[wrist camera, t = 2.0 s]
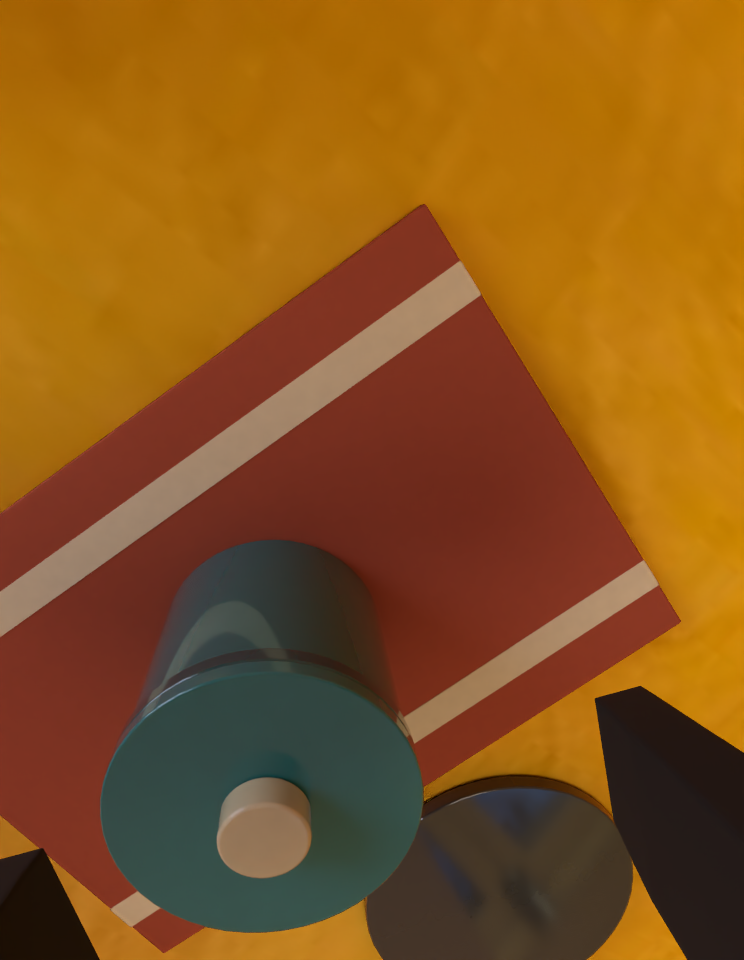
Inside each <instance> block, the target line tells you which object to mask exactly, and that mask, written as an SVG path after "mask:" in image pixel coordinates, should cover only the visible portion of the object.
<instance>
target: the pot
mask: <svg viewBox="0 0 744 960" xmlns="http://www.w3.org/2000/svg"><path fill="white" fill-rule="evenodd" d="M423 792H424V787H423V780H422V774H421V769H420V765H419V761H418V757H417V752H416V748H415V744H414V741H413V738H412V735H411V732H410V729H409V727H408V725H407V723H406V721H405V719H404V717H403V715H402V712H401V708H400V704H399V700H398V695H397V691H396V687H395V683H394V678H393V674H392V670H391V666H390V662H389V657H388V653H387V649H386V645H385V640H384V636H383V632H382V628H381V623H380V619H379V615H378V611H377V608H376V605H375V602H374V600H373V598H372V596H371V594H370V592H369V590H368V588H367V587H366V585H365V584H364V582H363V581H362V579H361V578H360V577H359V576H358V575H357V574H356V573H355V572H354V571H353V570H352V569H351V568H350V567H349V566H348V565H346V564H345V563H344V562H343V561H341V560H340V559H338V558H337V557H335V556H333V555H332V554H330V553H328V552H326V551H324V550H322V549H319V548H317V547H314V546H311V545H308V544H304V543H299V542H294V541H287V540H260V541H254V542H249V543H244V544H241V545H238V546H234V547H231V548H229V549H227V550H224V551H222V552H220V553H218V554H216V555H214V556H213V557H211V558H210V559H208V560H206V561H205V562H204V563H202V564H201V565H200V566H199V567H197V568H196V569H195V570H194V571H193V572H192V573H191V574H190V575H189V576H188V577H187V578H186V579H185V580H184V582H183V583H182V585H181V586H180V587H179V589H178V590H177V592H176V594H175V596H174V598H173V600H172V602H171V604H170V607H169V610H168V613H167V615H166V618H165V621H164V624H163V627H162V630H161V633H160V636H159V639H158V642H157V644H156V647H155V650H154V653H153V656H152V659H151V662H150V665H149V668H148V671H147V673H146V676H145V679H144V682H143V685H142V688H141V691H140V694H139V697H138V700H137V702H136V705H135V708H134V711H133V714H132V715H131V716H130V718H129V719H128V720H127V722H126V724H125V726H124V728H123V730H122V731H121V733H120V735H119V737H118V740H117V743H116V746H115V748H114V751H113V754H112V757H111V760H110V762H109V765H108V768H107V771H106V774H105V777H104V780H103V784H102V790H101V796H100V820H101V826H102V832H103V836H104V839H105V842H106V845H107V848H108V851H109V853H110V855H111V857H112V859H113V860H114V862H115V864H116V866H117V868H118V869H119V870H120V872H121V873H122V874H123V876H124V877H125V878H126V880H127V881H128V882H129V883H130V884H131V885H132V886H133V887H134V888H135V889H136V890H137V891H138V892H139V893H140V894H141V895H143V896H144V897H145V898H147V899H148V900H149V901H151V902H152V903H153V904H154V905H156V906H158V907H160V908H161V909H163V910H165V911H166V912H168V913H170V914H172V915H174V916H176V917H179V918H181V919H183V920H186V921H188V922H191V923H194V924H198V925H201V926H204V927H208V928H213V929H218V930H223V931H232V932H243V933H266V932H275V931H284V930H289V929H294V928H299V927H304V926H307V925H310V924H313V923H317V922H320V921H323V920H325V919H328V918H330V917H332V916H335V915H337V914H339V913H341V912H343V911H345V910H347V909H349V908H350V907H352V906H354V905H356V904H357V903H359V902H360V901H362V900H363V899H364V898H366V897H367V896H369V895H370V894H372V893H373V892H374V891H375V890H376V889H377V888H378V887H380V886H381V885H382V884H383V883H384V882H385V881H386V880H387V879H388V878H389V877H390V876H391V874H392V873H393V872H394V871H395V870H396V869H397V868H398V866H399V865H400V863H401V862H402V860H403V859H404V857H405V856H406V854H407V853H408V851H409V849H410V847H411V845H412V843H413V841H414V839H415V836H416V833H417V830H418V827H419V824H420V821H421V815H422V809H423Z"/></svg>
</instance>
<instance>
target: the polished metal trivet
mask: <svg viewBox="0 0 744 960" xmlns="http://www.w3.org/2000/svg"><path fill="white" fill-rule="evenodd" d="M632 883H633V863H632V859H631V857H630V854H629V852H628V850H627V848H626V846H625V844H624V842H623V840H622V837H621V835H620V833H619V831H618V829H617V827H616V825H615V822H614V819H613V817H612V816H611V815H610V814H609V813H608V811H607V810H606V809H605V808H604V807H603V806H602V805H601V804H599V803H598V802H597V801H596V800H595V799H593V798H592V797H591V796H589V795H587V794H586V793H584V792H582V791H580V790H579V789H577V788H574V787H572V786H569V785H567V784H565V783H562V782H558V781H554V780H550V779H546V778H539V777H531V776H506V777H495V778H490V779H485V780H480V781H475V782H472V783H469V784H466V785H462V786H459V787H457V788H454V789H452V790H450V791H447V792H445V793H443V794H441V795H439V796H437V797H435V798H434V799H432V800H430V801H428V802H427V803H425V804H424V805H423V809H422V815H421V821H420V824H419V827H418V830H417V833H416V836H415V839H414V841H413V843H412V845H411V847H410V849H409V851H408V853H407V854H406V856H405V857H404V859H403V860H402V862H401V863H400V865H399V866H398V868H397V869H396V870H395V871H394V872H393V873H392V874H391V876H390V877H389V878H388V879H387V880H386V881H385V882H384V883H383V884H382V885H381V886H380V887H378V888H377V889H376V890H375V891H374V892H373V893H372V894H370V895H369V896H367V897H366V898H365V913H366V920H367V925H368V930H369V934H370V936H371V939H372V942H373V944H374V946H375V948H376V949H377V951H378V953H379V954H380V956H381V957H382V959H383V960H587V959H588V958H589V957H590V956H592V955H593V954H594V953H595V952H596V951H597V950H598V949H599V948H600V947H601V946H602V945H603V944H604V943H605V942H606V940H607V939H608V938H609V937H610V935H611V934H612V933H613V931H614V930H615V928H616V927H617V925H618V923H619V922H620V920H621V919H622V916H623V914H624V912H625V910H626V907H627V905H628V902H629V898H630V895H631V891H632Z"/></svg>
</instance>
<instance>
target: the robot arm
mask: <svg viewBox="0 0 744 960" xmlns="http://www.w3.org/2000/svg"><path fill="white" fill-rule="evenodd" d="M595 703H596V709H597V716H598V722H599V729H600V735H601V742H602V748H603V755H604V761H605V768H606V774H607V781H608V787H609V793H610V800H611V806H612V813H613V819H614V822H615V825H616V827H617V829H618V831H619V833H620V835H621V837H622V840H623V842H624V844H625V846H626V848H627V850H628V852H629V854H630V857H631V859H632V861H633V863H634V865H635V867H636V869H637V871H638V873H639V875H640V877H641V879H642V881H643V883H644V886H645V888H646V890H647V892H648V894H649V896H650V898H651V900H652V902H653V903H654V905H655V907H656V908H657V910H658V912H659V913H660V915H661V917H662V918H663V920H664V922H665V923H666V925H667V927H668V928H669V930H670V932H671V933H672V935H673V937H674V938H675V940H676V942H677V943H678V945H679V947H680V948H681V950H682V951H683V953H684V955H685V956H686V958H687V960H744V753H743V752H742V751H740V750H739V749H737V748H735V747H734V746H732V745H731V744H729V743H728V742H726V741H725V740H723V739H721V738H720V737H718V736H717V735H715V734H714V733H712V732H711V731H709V730H708V729H706V728H704V727H703V726H701V725H700V724H698V723H697V722H695V721H694V720H692V719H691V718H689V717H688V716H686V715H685V714H683V713H682V712H680V711H679V710H677V709H676V708H674V707H672V706H671V705H669V704H668V703H666V702H665V701H663V700H662V699H660V698H659V697H657V696H656V695H654V694H653V693H651V692H649V691H648V690H646V689H645V688H643V687H641V686H638V687H635V688H631V689H627V690H624V691H620V692H616V693H613V694H609V695H605V696H601V697H598V698H595ZM0 960H100V959H99V957H98V955H97V953H96V951H95V949H94V947H93V945H92V943H91V941H90V940H89V938H88V936H87V934H86V932H85V930H84V928H83V926H82V924H81V922H80V920H79V918H78V916H77V914H76V912H75V910H74V908H73V906H72V904H71V902H70V900H69V898H68V896H67V894H66V892H65V890H64V888H63V886H62V884H61V882H60V880H59V878H58V876H57V874H56V872H55V870H54V868H53V866H52V864H51V862H50V860H49V858H48V856H47V854H46V852H45V850H44V848H41V849H37V850H33V851H30V852H26V853H22V854H19V855H15V856H11V857H7V858H4V859H0Z"/></svg>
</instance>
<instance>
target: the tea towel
mask: <svg viewBox="0 0 744 960" xmlns="http://www.w3.org/2000/svg"><path fill="white" fill-rule="evenodd" d="M260 540H287V541H294V542H299V543H304V544H308V545H311V546H314V547H317V548H319V549H322V550H324V551H326V552H328V553H330V554H332V555H333V556H335V557H337V558H338V559H340V560H341V561H343V562H344V563H345V564H346V565H348V566H349V567H350V568H351V569H352V570H353V571H354V572H355V573H356V574H357V575H358V576H359V577H360V578H361V579H362V581H363V582H364V584H365V585H366V587H367V588H368V590H369V592H370V594H371V596H372V598H373V600H374V602H375V605H376V608H377V611H378V615H379V619H380V623H381V628H382V632H383V636H384V640H385V645H386V649H387V653H388V657H389V662H390V666H391V670H392V674H393V678H394V683H395V687H396V691H397V695H398V700H399V704H400V708H401V712H402V715H403V717H404V719H405V721H406V723H407V725H408V727H409V729H410V732H411V735H412V738H413V741H414V744H415V748H416V752H417V757H418V761H419V765H420V769H421V774H422V780H423V787H424V786H426V785H428V784H429V783H431V782H432V781H434V780H435V779H437V778H438V777H440V776H442V775H443V774H445V773H446V772H448V771H449V770H451V769H453V768H454V767H456V766H457V765H459V764H460V763H462V762H463V761H465V760H467V759H468V758H470V757H471V756H473V755H474V754H476V753H477V752H479V751H481V750H482V749H484V748H485V747H487V746H488V745H490V744H492V743H493V742H495V741H496V740H498V739H499V738H501V737H502V736H504V735H506V734H507V733H509V732H510V731H512V730H513V729H515V728H517V727H518V726H520V725H521V724H523V723H524V722H526V721H527V720H529V719H531V718H532V717H534V716H535V715H537V714H538V713H540V712H541V711H543V710H545V709H546V708H548V707H549V706H551V705H552V704H554V703H556V702H557V701H559V700H560V699H562V698H563V697H565V696H566V695H568V694H570V693H571V692H573V691H574V690H576V689H577V688H579V687H581V686H582V685H584V684H585V683H587V682H588V681H590V680H591V679H593V678H595V677H596V676H598V675H599V674H601V673H602V672H604V671H605V670H607V669H609V668H610V667H612V666H613V665H615V664H616V663H618V662H620V661H621V660H623V659H624V658H626V657H627V656H629V655H630V654H632V653H634V652H635V651H637V650H638V649H640V648H641V647H643V646H644V645H646V644H648V643H649V642H651V641H652V640H654V639H655V638H657V637H659V636H660V635H662V634H663V633H665V632H666V631H668V630H669V629H671V628H673V627H674V626H676V625H677V624H679V623H680V622H681V620H680V619H679V617H678V615H677V614H676V612H675V610H674V609H673V607H672V606H671V604H670V602H669V601H668V599H667V597H666V596H665V594H664V593H663V591H662V589H661V588H660V586H659V583H658V582H657V580H656V579H655V577H654V575H653V574H652V572H651V570H650V569H649V567H648V566H647V564H646V562H645V561H644V560H643V558H642V557H641V555H640V553H639V552H638V550H637V548H636V547H635V545H634V544H633V542H632V540H631V539H630V537H629V535H628V534H627V532H626V531H625V529H624V527H623V526H622V524H621V522H620V521H619V519H618V517H617V516H616V514H615V513H614V511H613V509H612V508H611V506H610V504H609V503H608V501H607V500H606V498H605V496H604V495H603V493H602V491H601V490H600V488H599V486H598V485H597V483H596V482H595V480H594V478H593V477H592V475H591V473H590V472H589V470H588V469H587V467H586V465H585V464H584V462H583V460H582V459H581V457H580V455H579V454H578V452H577V451H576V449H575V447H574V446H573V444H572V442H571V441H570V439H569V438H568V436H567V434H566V433H565V431H564V429H563V428H562V426H561V424H560V423H559V421H558V420H557V418H556V416H555V415H554V413H553V411H552V410H551V408H550V407H549V405H548V403H547V402H546V400H545V398H544V397H543V395H542V393H541V392H540V390H539V389H538V387H537V385H536V384H535V382H534V380H533V379H532V377H531V376H530V374H529V372H528V371H527V369H526V367H525V366H524V364H523V362H522V361H521V359H520V358H519V356H518V354H517V353H516V351H515V349H514V348H513V346H512V344H511V343H510V341H509V340H508V338H507V336H506V335H505V333H504V331H503V330H502V328H501V327H500V325H499V323H498V322H497V320H496V318H495V317H494V315H493V313H492V312H491V310H490V309H489V307H488V305H487V304H486V302H485V300H484V299H483V297H482V296H481V293H480V291H479V290H478V288H477V286H476V285H475V283H474V281H473V280H472V278H471V277H470V275H469V273H468V272H467V270H466V268H465V267H464V265H463V263H462V262H461V260H459V258H458V256H457V255H456V253H455V251H454V250H453V248H452V247H451V245H450V243H449V242H448V240H447V238H446V237H445V235H444V234H443V232H442V230H441V229H440V227H439V225H438V224H437V222H436V220H435V219H434V217H433V216H432V214H431V212H430V211H429V209H428V207H427V206H426V205H425V204H423V205H421V206H419V207H418V208H416V209H415V210H414V211H412V212H411V213H410V214H408V215H407V216H406V217H404V218H403V219H401V220H400V221H399V222H397V223H396V224H395V225H393V226H392V227H391V228H389V229H388V230H386V231H385V232H384V233H382V234H381V235H380V236H378V237H377V238H376V239H374V240H373V241H371V242H370V243H369V244H367V245H366V246H365V247H363V248H362V249H360V250H359V251H358V252H356V253H355V254H354V255H352V256H351V257H350V258H348V259H347V260H345V261H344V262H343V263H341V264H340V265H339V266H337V267H336V268H335V269H333V270H332V271H330V272H329V273H328V274H326V275H325V276H324V277H322V278H321V279H320V280H318V281H317V282H315V283H314V284H313V285H311V286H310V287H309V288H307V289H306V290H305V291H303V292H302V293H300V294H299V295H298V296H296V297H295V298H294V299H292V300H291V301H290V302H288V303H287V304H285V305H284V306H283V307H281V308H280V309H279V310H277V311H276V312H275V313H273V314H272V315H270V316H269V317H268V318H266V319H265V320H264V321H262V322H261V323H260V324H258V325H257V326H255V327H254V328H253V329H251V330H250V331H249V332H247V333H246V334H245V335H243V336H242V337H240V338H239V339H238V340H236V341H235V342H234V343H232V344H231V345H230V346H228V347H227V348H225V349H224V350H223V351H221V352H220V353H219V354H217V355H216V356H215V357H213V358H212V359H210V360H209V361H208V362H206V363H205V364H204V365H202V366H201V367H200V368H198V369H197V370H195V371H194V372H193V373H191V374H190V375H189V376H187V377H186V378H184V379H183V380H182V381H180V382H179V383H178V384H176V385H175V386H174V387H172V388H171V389H169V390H168V391H167V392H165V393H164V394H163V395H161V396H160V397H159V398H157V399H156V400H154V401H153V402H152V403H150V404H149V405H148V406H146V407H145V408H144V409H142V410H141V411H139V412H138V413H137V414H135V415H134V416H133V417H131V418H130V419H129V420H127V421H126V422H124V423H123V424H122V425H120V426H119V427H118V428H116V429H115V430H114V431H112V432H111V433H109V434H108V435H107V436H105V437H104V438H103V439H101V440H100V441H99V442H97V443H96V444H94V445H93V446H92V447H90V448H89V449H88V450H86V451H85V452H84V453H82V454H81V455H79V456H78V457H77V458H75V459H74V460H73V461H71V462H70V463H69V464H67V465H66V466H64V467H63V468H62V469H60V470H59V471H58V472H56V473H55V474H54V475H52V476H51V477H49V478H48V479H47V480H45V481H44V482H43V483H41V484H40V485H39V486H37V487H36V488H34V489H33V490H32V491H30V492H29V493H28V494H26V495H25V496H24V497H22V498H21V499H19V500H18V501H17V502H15V503H14V504H13V505H11V506H10V507H9V508H7V509H6V510H4V511H3V512H2V513H0V815H1V816H2V817H3V818H4V819H5V820H7V821H8V822H9V823H10V824H11V825H13V826H14V827H15V828H16V829H17V830H18V831H20V832H21V833H22V834H23V835H24V836H26V837H27V838H28V839H29V840H30V841H32V842H33V843H34V844H35V845H36V846H37V847H39V848H40V849H41V848H44V850H45V852H46V854H47V855H48V856H49V857H50V858H52V859H53V860H54V861H55V862H56V863H58V864H59V865H60V866H61V867H62V868H63V869H65V870H66V871H67V872H68V873H69V874H71V875H72V876H73V877H74V878H75V879H76V880H78V881H79V882H80V883H81V884H82V885H84V886H85V887H86V888H87V889H88V890H89V891H91V892H92V893H93V894H94V895H95V896H97V897H98V898H99V899H100V900H101V901H102V902H104V903H105V904H106V905H107V906H108V907H110V908H111V909H110V910H111V911H112V912H113V913H114V914H116V915H117V916H118V917H119V918H120V919H122V920H123V921H124V922H125V923H126V924H128V925H129V926H130V927H133V928H134V929H136V930H137V931H138V932H139V933H140V934H142V935H143V936H144V937H145V938H146V939H147V940H149V941H150V942H151V943H152V944H153V945H155V946H156V947H157V948H158V949H159V950H160V951H162V952H163V953H165V952H167V951H168V950H170V949H172V948H173V947H175V946H176V945H178V944H179V943H181V942H183V941H184V940H186V939H187V938H189V937H190V936H192V935H193V934H195V933H197V932H198V931H200V930H201V929H203V928H204V926H201V925H198V924H194V923H191V922H188V921H186V920H183V919H181V918H179V917H176V916H174V915H172V914H170V913H168V912H166V911H165V910H163V909H161V908H160V907H158V906H156V905H154V904H153V903H152V902H151V901H149V900H148V899H147V898H145V897H144V896H143V895H141V894H140V893H139V892H138V891H137V890H136V889H135V888H134V887H133V886H132V885H131V884H130V883H129V882H128V881H127V880H126V878H125V877H124V876H123V874H122V873H121V872H120V870H119V869H118V868H117V866H116V864H115V862H114V860H113V859H112V857H111V855H110V853H109V851H108V848H107V845H106V842H105V839H104V836H103V832H102V826H101V820H100V796H101V790H102V784H103V780H104V777H105V774H106V771H107V768H108V765H109V762H110V760H111V757H112V754H113V751H114V748H115V746H116V743H117V740H118V737H119V735H120V733H121V731H122V730H123V728H124V726H125V724H126V722H127V720H128V719H129V718H130V716H131V715H132V714H133V711H134V708H135V705H136V702H137V700H138V697H139V694H140V691H141V688H142V685H143V682H144V679H145V676H146V673H147V671H148V668H149V665H150V662H151V659H152V656H153V653H154V650H155V647H156V644H157V642H158V639H159V636H160V633H161V630H162V627H163V624H164V621H165V618H166V615H167V613H168V610H169V607H170V604H171V602H172V600H173V598H174V596H175V594H176V592H177V590H178V589H179V587H180V586H181V585H182V583H183V582H184V580H185V579H186V578H187V577H188V576H189V575H190V574H191V573H192V572H193V571H194V570H195V569H196V568H197V567H199V566H200V565H201V564H202V563H204V562H205V561H206V560H208V559H210V558H211V557H213V556H214V555H216V554H218V553H220V552H222V551H224V550H227V549H229V548H231V547H234V546H238V545H241V544H244V543H249V542H254V541H260Z"/></svg>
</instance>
